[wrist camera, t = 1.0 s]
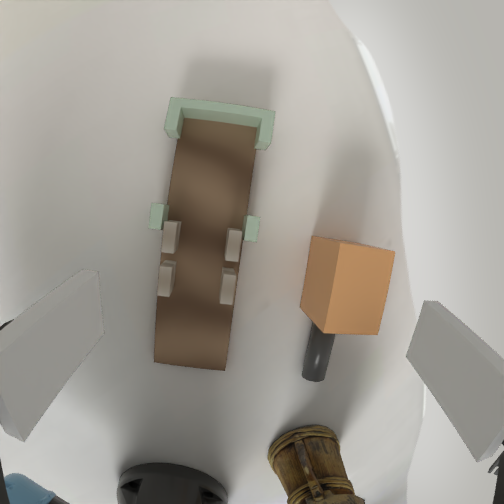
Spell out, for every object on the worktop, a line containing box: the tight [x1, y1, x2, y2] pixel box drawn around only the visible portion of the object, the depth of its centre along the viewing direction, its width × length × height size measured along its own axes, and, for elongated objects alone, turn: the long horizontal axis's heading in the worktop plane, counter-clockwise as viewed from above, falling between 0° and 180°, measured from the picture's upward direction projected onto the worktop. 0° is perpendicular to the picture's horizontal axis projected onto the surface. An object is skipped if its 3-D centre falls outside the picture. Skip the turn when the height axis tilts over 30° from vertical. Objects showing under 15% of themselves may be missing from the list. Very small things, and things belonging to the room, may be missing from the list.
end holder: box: [149, 97, 275, 242], centre depth 25 cm, size 11×9×3 cm
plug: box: [300, 236, 395, 382], centre depth 27 cm, size 14×5×7 cm, turn 172°
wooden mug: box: [268, 425, 365, 504], centre depth 23 cm, size 9×14×18 cm, turn 19°
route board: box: [154, 118, 257, 371], centre depth 26 cm, size 24×7×4 cm, turn 172°
